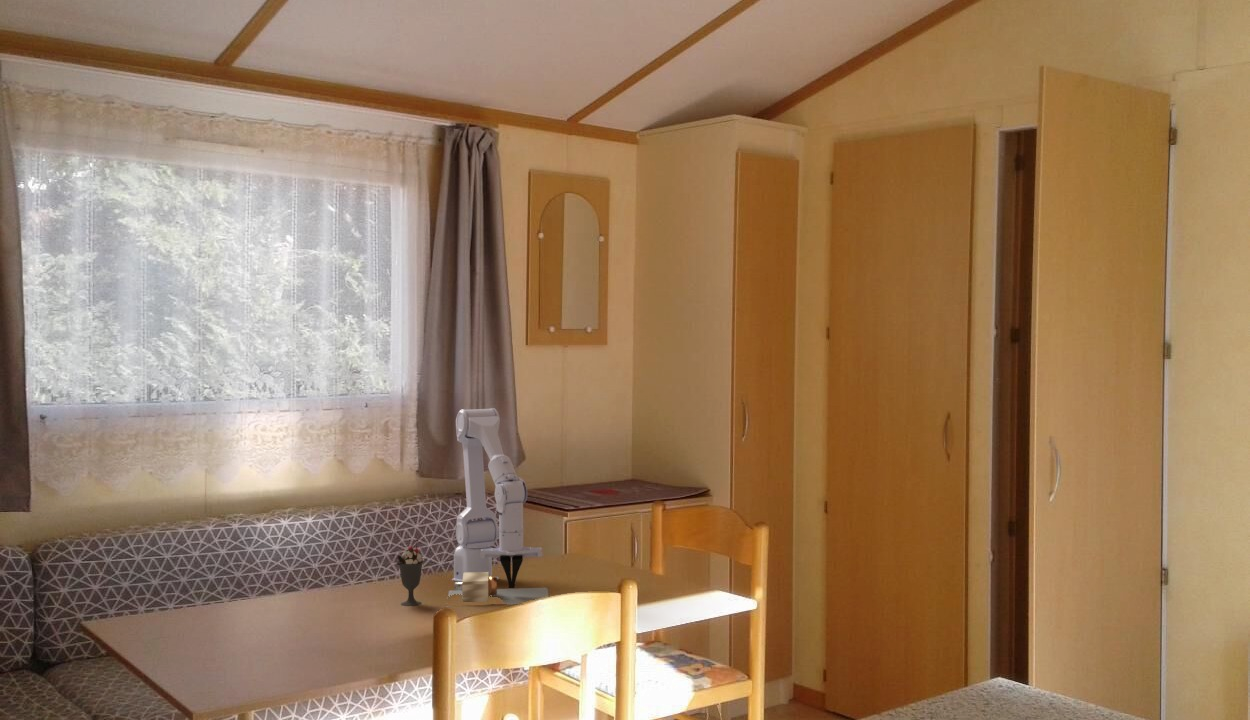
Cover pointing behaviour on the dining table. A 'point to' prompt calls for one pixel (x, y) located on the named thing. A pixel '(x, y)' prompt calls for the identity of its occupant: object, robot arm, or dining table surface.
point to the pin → (491, 585)
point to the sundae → (410, 572)
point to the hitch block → (475, 587)
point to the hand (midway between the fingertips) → (511, 587)
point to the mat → (514, 594)
